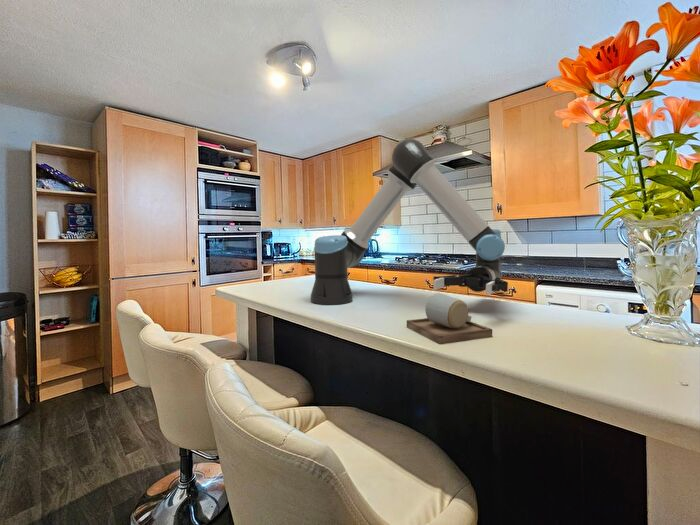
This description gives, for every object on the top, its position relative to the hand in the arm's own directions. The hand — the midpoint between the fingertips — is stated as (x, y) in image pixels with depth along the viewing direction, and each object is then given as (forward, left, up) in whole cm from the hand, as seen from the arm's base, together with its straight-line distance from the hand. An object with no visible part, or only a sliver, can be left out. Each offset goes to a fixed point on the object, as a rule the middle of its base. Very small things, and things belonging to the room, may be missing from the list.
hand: (459, 287), depth 84 cm
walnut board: (+6, -8, -9) cm, 13 cm away
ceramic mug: (+5, -6, -8) cm, 11 cm away
